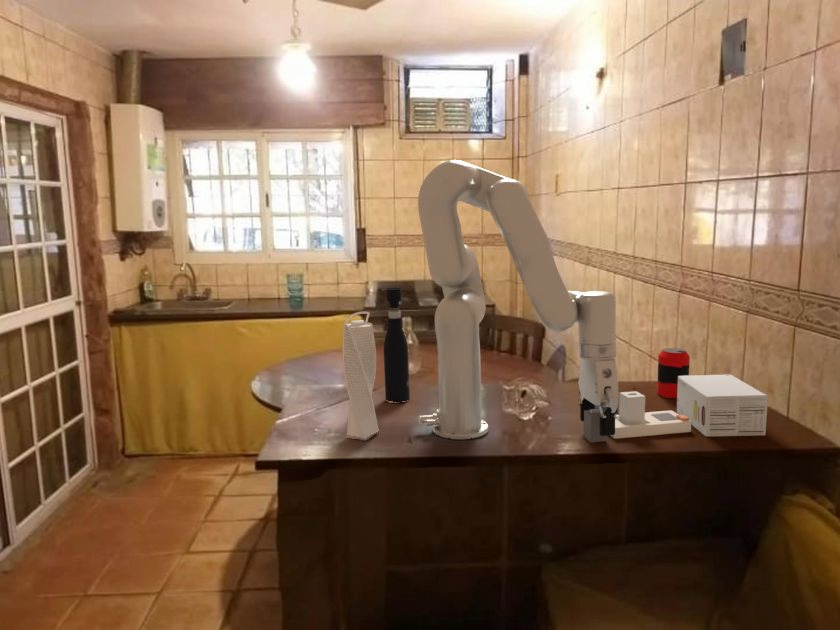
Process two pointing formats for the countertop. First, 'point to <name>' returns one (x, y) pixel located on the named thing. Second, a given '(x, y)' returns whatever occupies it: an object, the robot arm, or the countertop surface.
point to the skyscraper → (360, 375)
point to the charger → (631, 408)
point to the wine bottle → (395, 352)
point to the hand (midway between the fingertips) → (597, 427)
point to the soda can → (671, 370)
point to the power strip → (654, 425)
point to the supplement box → (722, 405)
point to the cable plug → (592, 425)
